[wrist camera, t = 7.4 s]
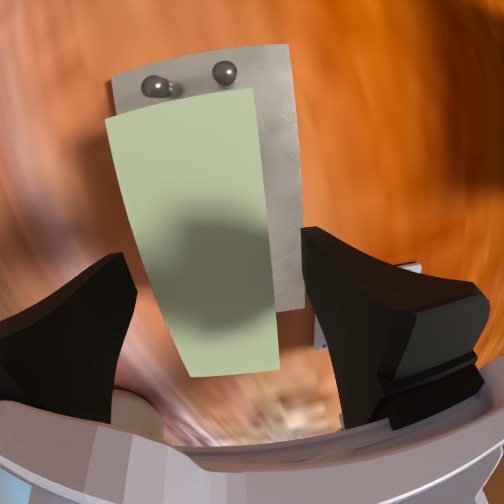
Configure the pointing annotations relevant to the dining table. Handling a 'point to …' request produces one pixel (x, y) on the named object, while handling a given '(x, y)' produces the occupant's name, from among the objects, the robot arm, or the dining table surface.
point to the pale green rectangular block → (202, 226)
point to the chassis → (269, 131)
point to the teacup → (135, 414)
